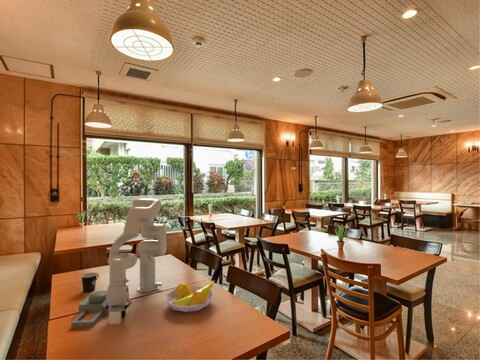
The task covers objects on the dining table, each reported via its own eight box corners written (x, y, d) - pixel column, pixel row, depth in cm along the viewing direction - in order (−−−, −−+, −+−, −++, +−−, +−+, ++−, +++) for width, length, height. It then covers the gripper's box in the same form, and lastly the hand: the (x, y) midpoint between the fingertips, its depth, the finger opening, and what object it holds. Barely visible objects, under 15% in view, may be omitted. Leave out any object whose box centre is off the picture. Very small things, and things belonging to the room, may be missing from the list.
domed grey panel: (118, 303, 150) (118, 289, 150) (99, 326, 127) (99, 310, 127) (89, 304, 149) (89, 290, 149) (64, 328, 126) (64, 311, 126)
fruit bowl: (165, 321, 133) (166, 298, 133) (166, 297, 159) (166, 278, 159) (220, 314, 140) (220, 293, 140) (212, 292, 166) (212, 274, 166)
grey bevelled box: (125, 315, 138) (125, 301, 138) (119, 323, 130) (119, 309, 130) (115, 315, 138) (115, 302, 138) (109, 323, 130) (109, 309, 130)
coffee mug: (84, 294, 161) (84, 278, 161) (78, 290, 167) (78, 275, 167) (104, 288, 171) (104, 273, 171) (97, 285, 176) (97, 270, 176)
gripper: (137, 279, 138) (136, 313, 138) (103, 279, 137) (103, 314, 137) (132, 284, 131) (132, 321, 131) (96, 285, 129) (96, 322, 130)
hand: (117, 317), depth 134 cm, fingers closed on grey bevelled box, 5 cm apart
